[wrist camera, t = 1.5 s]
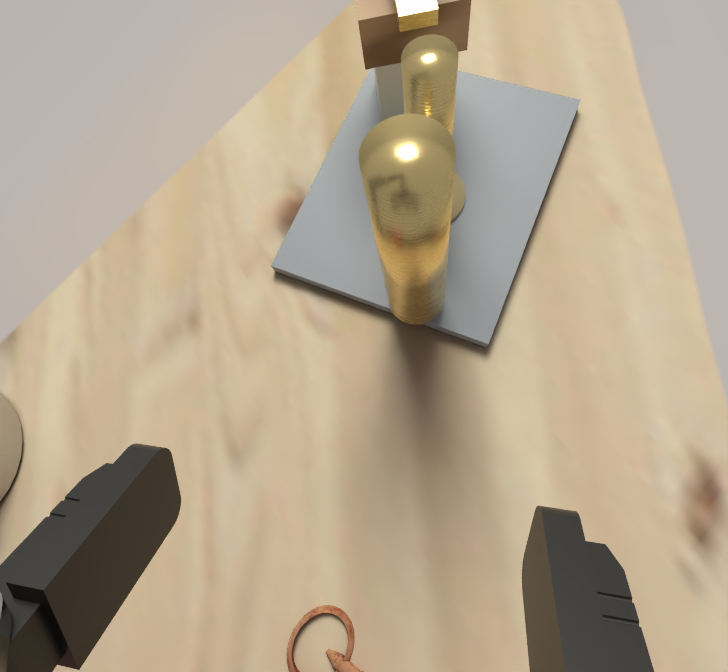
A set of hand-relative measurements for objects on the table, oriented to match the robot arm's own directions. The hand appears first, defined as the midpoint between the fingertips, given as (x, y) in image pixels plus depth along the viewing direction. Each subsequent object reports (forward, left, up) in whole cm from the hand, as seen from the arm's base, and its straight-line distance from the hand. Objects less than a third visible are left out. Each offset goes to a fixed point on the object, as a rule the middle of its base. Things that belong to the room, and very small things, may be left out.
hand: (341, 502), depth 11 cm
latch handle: (-5, +17, -16) cm, 24 cm away
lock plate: (-5, +18, -17) cm, 26 cm away
